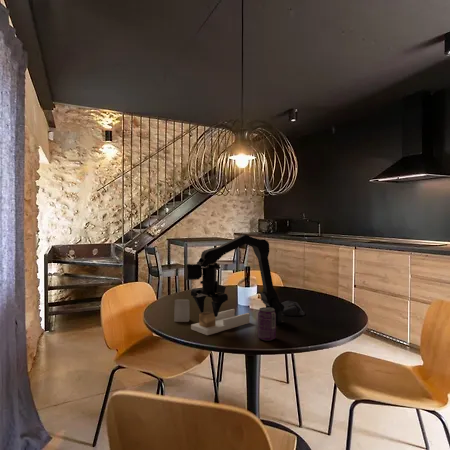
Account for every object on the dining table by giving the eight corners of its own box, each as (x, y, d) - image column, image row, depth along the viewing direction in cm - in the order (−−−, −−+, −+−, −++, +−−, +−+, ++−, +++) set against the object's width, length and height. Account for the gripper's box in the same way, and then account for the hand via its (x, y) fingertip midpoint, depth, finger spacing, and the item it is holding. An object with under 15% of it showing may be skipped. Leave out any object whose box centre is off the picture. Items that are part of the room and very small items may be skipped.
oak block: (215, 325, 149) (215, 313, 149) (206, 327, 146) (206, 316, 146) (208, 322, 153) (208, 311, 153) (199, 325, 149) (199, 313, 149)
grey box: (188, 321, 161) (188, 300, 161) (174, 321, 161) (174, 300, 161) (189, 319, 165) (189, 298, 165) (175, 319, 165) (175, 298, 165)
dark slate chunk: (301, 306, 193) (301, 298, 193) (305, 317, 171) (305, 307, 171) (274, 305, 195) (274, 297, 195) (274, 316, 173) (274, 306, 173)
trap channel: (249, 322, 160) (249, 313, 160) (207, 335, 142) (207, 324, 142) (233, 318, 168) (233, 308, 168) (190, 329, 150) (190, 319, 150)
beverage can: (274, 335, 142) (274, 306, 142) (277, 341, 135) (277, 311, 134) (257, 335, 141) (257, 307, 141) (259, 341, 134) (259, 311, 134)
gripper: (237, 279, 148) (237, 315, 148) (208, 274, 162) (208, 307, 162) (218, 282, 141) (217, 320, 141) (190, 277, 154) (190, 311, 154)
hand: (208, 314), depth 150 cm, fingers open, 9 cm apart
